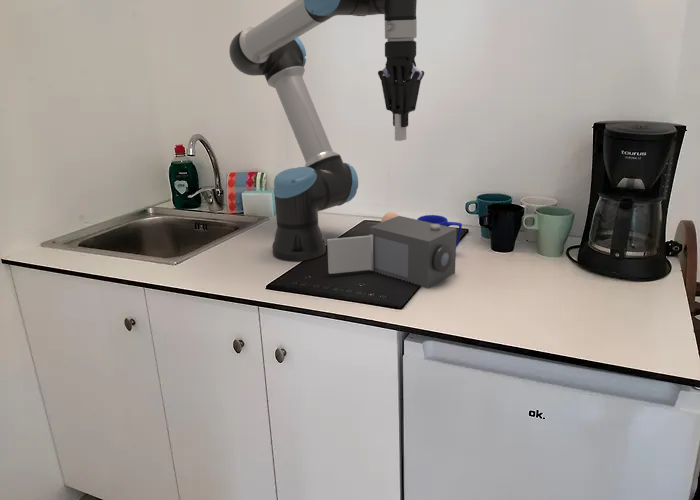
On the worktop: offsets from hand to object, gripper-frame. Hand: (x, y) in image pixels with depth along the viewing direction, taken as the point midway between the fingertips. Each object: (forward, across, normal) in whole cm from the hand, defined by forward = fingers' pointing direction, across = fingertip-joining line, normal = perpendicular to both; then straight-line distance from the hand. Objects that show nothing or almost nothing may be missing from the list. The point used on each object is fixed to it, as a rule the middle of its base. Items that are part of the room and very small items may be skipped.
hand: (400, 139), depth 144 cm
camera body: (+33, +7, -4) cm, 34 cm away
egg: (+33, -15, +13) cm, 38 cm away
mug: (+33, +4, +11) cm, 35 cm away
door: (+32, -3, -15) cm, 36 cm away
